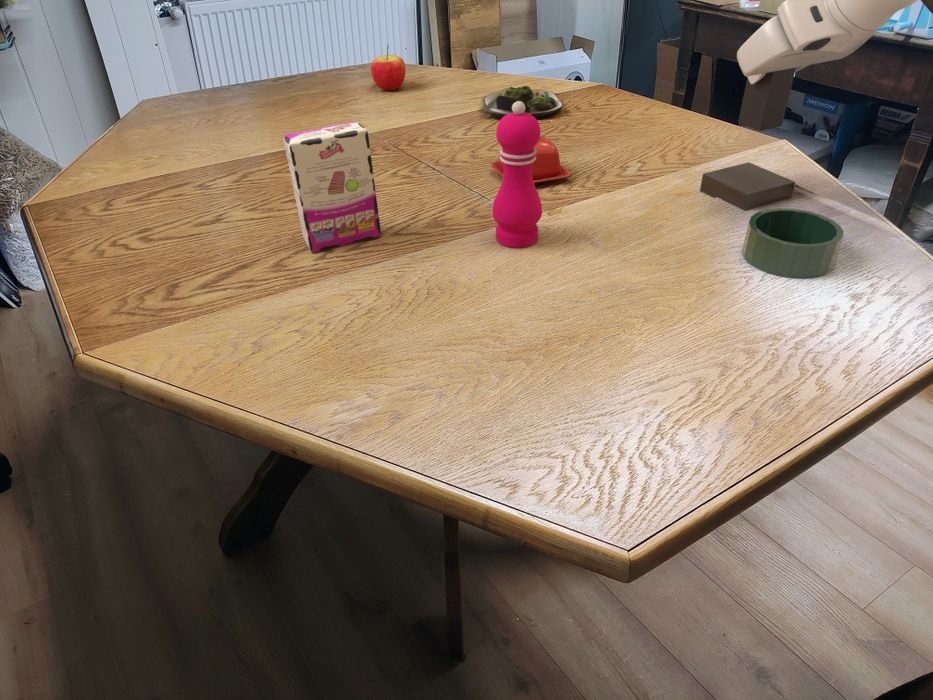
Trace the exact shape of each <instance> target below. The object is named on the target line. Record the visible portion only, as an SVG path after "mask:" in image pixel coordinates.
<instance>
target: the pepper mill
mask: <svg viewBox="0 0 933 700" xmlns="http://www.w3.org/2000/svg"><path fill="white" fill-rule="evenodd" d="M512 111H513V113H509V114H507V115H506V116H504V117H503V118H502V119H501V120H500V119H499V122H498V124H497V126H496V131H495V135H496V136H495V137H496V139H497V143H498V144H499V145H500V146H501V148H500V150H499V158H500V160H501V161H502V162H503V168H504V171H503V177H502V181H501V184H500V187H499V188H498V191H497V193H496V195H495V197H494V199H493V204H492V212H491V213H492V214H491V215H492V218H493V220H494V221H495V223H497V225H496V226H495V240H496V242H497V243H498V244H500V245H502V246H503V247H506V248H513V249H514V248H515V249H518V248H519V249H520V248H526V247H530V246H532V245H534V244H535V243H536V242H537V241H538V239H539V227H538V225H537V224H538V223H539V221H540V220H541V218H542V216H543V206H542V201H541V197H540V195H539V192H538V190H537V188H536V185H535V183H534V182H533V177H532V165H533V162H534V161H535V160H536V155H535V154H536V149H535V148H534V146H535V145H536V144H537V143H538V141H539V139H540V135H541V125H540V123H539V121H538V120H536V118H535V117H534V116H532V115H530V114H528V113H525V112H524V111H525V105H524V103H523V102H521V101H517V102H515V103H514V104H513V105H512ZM500 154H501V156H500Z"/></svg>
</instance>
